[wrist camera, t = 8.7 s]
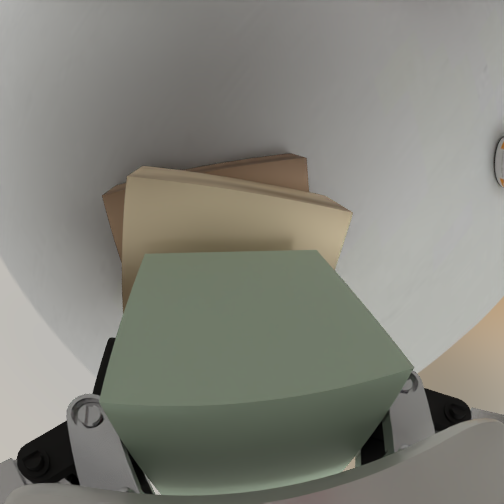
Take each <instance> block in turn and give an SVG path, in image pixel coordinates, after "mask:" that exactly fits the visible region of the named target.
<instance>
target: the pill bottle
mask: <svg viewBox="0 0 504 504" xmlns="http://www.w3.org/2000/svg"><path fill="white" fill-rule="evenodd" d="M495 173H496V177H497V180H498V182H499V184H500V185H501V186H502V187H503V188H504V138H502V139H501V140H500V142H499V144H498V147H497V150H496V156H495Z"/></svg>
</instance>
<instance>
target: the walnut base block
mask: <svg viewBox="0 0 504 504" xmlns="http://www.w3.org/2000/svg"><path fill="white" fill-rule="evenodd" d="M182 171H190V172H197V173H204V174H211V175H218V176H224V177H230V178H236V179H242V180H248V181H254V182H260V183H265V184H271V185H276V186H281V187H286V188H291V189H296V190H301V191H306V192H309V185H308V172H307V160H306V158H305V157H302V156H298V155H295V154H282V155H273V156H265V157H258V158H251V159H244V160H237V161H231V162H224V163H218V164H213V165H207V166H201V167H196V168H191V169H186V170H182ZM125 190H126V183H124V184H120V185H116V186H115V187H113V188H112V189H110V190H109V191H108V192H106V193H105V194H104V195H102V197H103V201H104V205H105V209H106V213H107V216H108V220H109V223H110V227H111V230H112V234H113V237H114V240H115V244H116V247H117V250H118V253H119V256H120V259H121V262H122V240H123V218H124V203H125Z"/></svg>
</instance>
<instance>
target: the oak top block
mask: <svg viewBox="0 0 504 504" xmlns="http://www.w3.org/2000/svg"><path fill="white" fill-rule="evenodd" d="M352 214H353V212H351V211H349V210H348V209H346V208H344V207H343V206H341V205H340V204H338V203H336V202H335V201H333V200H331V199H330V198H328V197H326V196H324V195H320V194H315V193H310V192H306V191H301V190H296V189H291V188H286V187H281V186H276V185H271V184H265V183H260V182H254V181H248V180H242V179H236V178H230V177H224V176H218V175H211V174H204V173H197V172H190V171H182V170H174V169H166V168H157V167H148V166H142V167H140V168H139V169H137V170H136V171H134V172H133V173H131V174H130V175H128V176H127V180H126V190H125V203H124V218H123V240H122V297H123V314H124V310H125V307H126V304H127V302H128V299H129V296H130V293H131V290H132V287H133V284H134V282H135V279H136V276H137V273H138V271H139V268H140V265H141V263H142V260H143V258H144V255H145V254H153V253H196V252H240V251H284V250H317V251H318V252H319V253H320V254H321V256H322V257H323V258H324V259H325V260H326V261H327V262H328V263H329V265H330V266H331V267H332V268H333V269H334V270H335V267H336V264H337V261H338V259H339V256H340V253H341V249H342V246H343V243H344V240H345V237H346V234H347V231H348V227H349V224H350V221H351V218H352Z"/></svg>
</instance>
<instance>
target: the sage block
mask: <svg viewBox="0 0 504 504" xmlns="http://www.w3.org/2000/svg"><path fill="white" fill-rule="evenodd" d="M413 369H414V367H413V365H412V364H411V363H410V361H409V360H408V359H407V357H406V356H405V355H404V354H403V352H402V351H401V350H400V349H399V347H398V346H397V345H396V343H395V342H394V341H393V340H392V338H391V337H390V336H389V335H388V333H387V332H386V331H385V330H384V329H383V327H382V326H381V325H380V324H379V322H378V321H377V320H376V319H375V317H374V316H373V315H372V314H371V313H370V311H369V310H368V309H367V308H366V307H365V305H364V304H363V303H362V302H361V301H360V299H359V298H358V297H357V296H356V295H355V294H354V292H353V291H352V290H351V289H350V288H349V286H348V285H347V284H346V283H345V282H344V281H343V280H342V278H341V277H340V276H339V275H338V274H337V273H336V271H335V270H334V269H333V268H332V267H331V266H330V265H329V263H328V262H327V261H326V260H325V259H324V258H323V257H322V256H321V254H320V253H319V252H318V251H317V250H284V251H240V252H196V253H153V254H145V255H144V258H143V260H142V263H141V265H140V268H139V271H138V273H137V276H136V279H135V282H134V284H133V287H132V290H131V293H130V296H129V299H128V302H127V304H126V307H125V310H124V314H123V317H122V320H121V323H120V326H119V329H118V333H117V336H116V339H115V342H114V346H113V349H112V353H111V356H110V360H109V364H108V367H107V371H106V375H105V379H104V383H103V387H102V391H101V395H100V400H99V403H100V405H101V407H102V409H103V410H104V412H105V414H106V416H107V417H108V419H109V421H110V423H111V424H112V426H113V428H114V429H115V431H116V432H117V434H118V436H119V437H120V439H121V440H122V442H123V443H124V445H125V446H126V448H127V449H128V451H129V452H130V454H131V455H132V457H133V458H134V460H135V461H136V462H137V464H138V465H139V467H140V468H141V469H142V471H143V472H144V473H145V475H146V476H147V477H148V479H149V480H150V481H151V482H152V484H153V485H154V486H155V487H156V489H157V490H158V491H159V492H160V494H161V495H182V496H191V495H219V494H232V493H242V492H251V491H259V490H265V489H272V488H278V487H283V486H288V485H293V484H298V483H303V482H307V481H311V480H315V479H319V478H323V477H327V476H330V475H334V474H337V473H340V472H342V471H343V470H344V469H345V468H346V466H347V465H348V464H349V463H350V462H351V460H352V459H353V458H354V457H355V456H356V454H357V453H358V452H359V450H360V449H361V448H362V447H363V445H364V444H365V443H366V441H367V440H368V439H369V437H370V436H371V435H372V433H373V432H374V431H375V429H376V428H377V426H378V425H379V423H380V422H381V421H382V419H383V418H384V416H385V415H386V413H387V412H388V410H389V409H390V407H391V406H392V404H393V402H394V401H395V399H396V398H397V396H398V394H399V393H400V391H401V389H402V388H403V386H404V384H405V383H406V381H407V379H408V377H409V376H410V374H411V372H412V370H413Z"/></svg>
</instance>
